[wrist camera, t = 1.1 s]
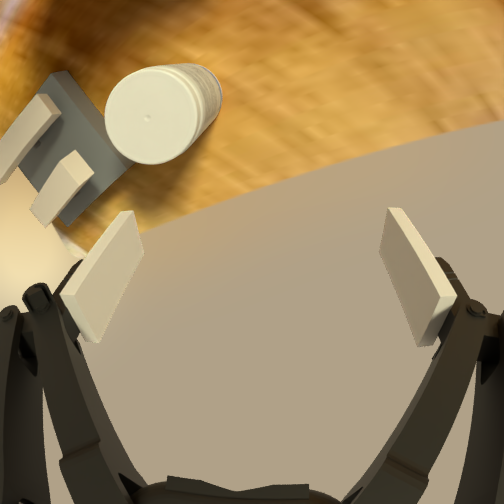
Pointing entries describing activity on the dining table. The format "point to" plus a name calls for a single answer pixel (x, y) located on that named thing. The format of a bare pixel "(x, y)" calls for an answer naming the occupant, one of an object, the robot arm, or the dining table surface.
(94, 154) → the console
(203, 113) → the supplement tub
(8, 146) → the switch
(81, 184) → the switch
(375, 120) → the dining table surface
